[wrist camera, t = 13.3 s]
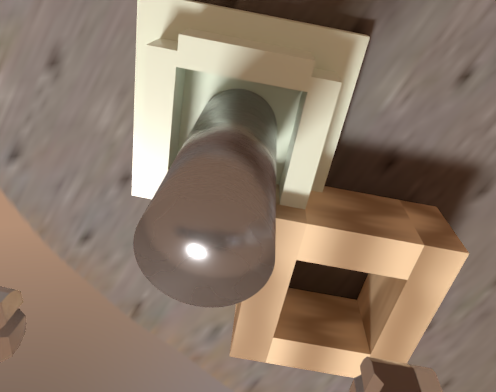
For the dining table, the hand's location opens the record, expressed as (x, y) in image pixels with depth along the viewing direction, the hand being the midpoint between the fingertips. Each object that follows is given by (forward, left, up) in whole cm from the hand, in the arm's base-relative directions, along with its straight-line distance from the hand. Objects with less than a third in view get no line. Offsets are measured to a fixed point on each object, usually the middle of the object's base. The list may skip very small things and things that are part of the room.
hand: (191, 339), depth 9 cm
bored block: (-8, +9, -16) cm, 20 cm away
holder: (0, 0, -16) cm, 16 cm away
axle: (0, 0, -15) cm, 15 cm away
